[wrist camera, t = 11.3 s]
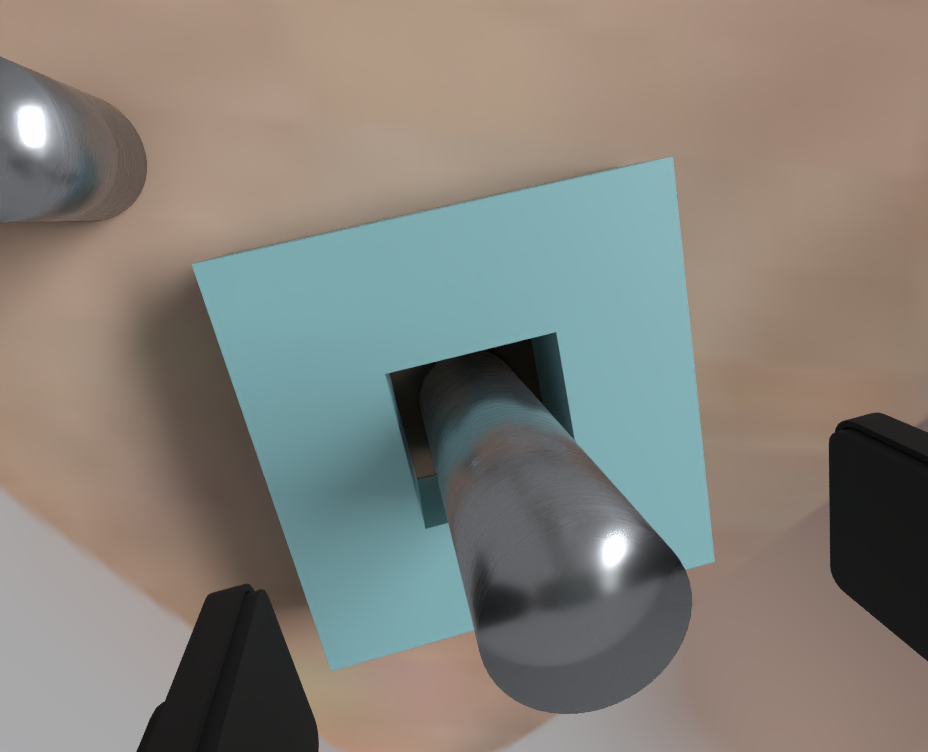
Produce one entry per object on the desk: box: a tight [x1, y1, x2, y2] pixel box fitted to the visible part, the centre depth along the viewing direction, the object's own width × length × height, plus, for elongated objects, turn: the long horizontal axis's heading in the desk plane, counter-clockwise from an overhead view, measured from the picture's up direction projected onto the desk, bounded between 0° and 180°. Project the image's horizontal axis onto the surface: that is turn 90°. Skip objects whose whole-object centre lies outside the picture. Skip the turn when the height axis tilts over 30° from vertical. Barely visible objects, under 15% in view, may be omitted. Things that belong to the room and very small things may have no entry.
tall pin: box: [419, 350, 692, 714], centre depth 15 cm, size 4×4×12 cm
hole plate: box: [192, 157, 715, 671], centre depth 19 cm, size 13×13×4 cm
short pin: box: [0, 57, 147, 222], centre depth 15 cm, size 4×4×5 cm
